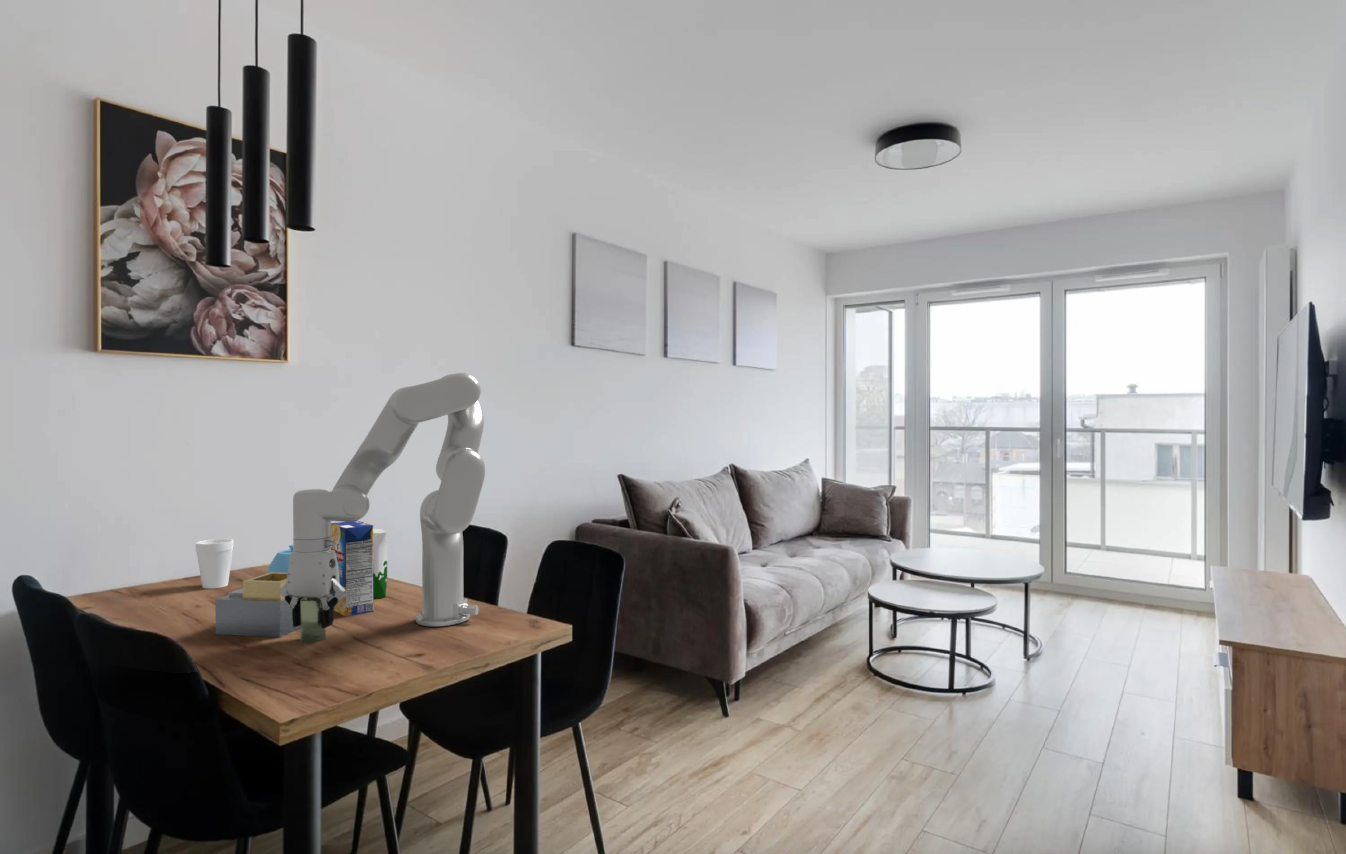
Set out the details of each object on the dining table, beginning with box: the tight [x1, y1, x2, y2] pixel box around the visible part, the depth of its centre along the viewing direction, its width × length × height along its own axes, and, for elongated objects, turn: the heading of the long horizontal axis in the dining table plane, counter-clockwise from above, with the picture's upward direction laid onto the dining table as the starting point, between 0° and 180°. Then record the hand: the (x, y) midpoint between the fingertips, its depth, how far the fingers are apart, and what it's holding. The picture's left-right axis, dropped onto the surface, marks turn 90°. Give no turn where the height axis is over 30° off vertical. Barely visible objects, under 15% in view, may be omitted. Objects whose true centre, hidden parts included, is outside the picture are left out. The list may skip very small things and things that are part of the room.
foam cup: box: [195, 538, 235, 589], centre depth 207 cm, size 10×9×13 cm
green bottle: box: [299, 597, 327, 644], centre depth 158 cm, size 5×5×10 cm
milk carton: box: [373, 528, 388, 600], centre depth 195 cm, size 9×9×20 cm
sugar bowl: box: [266, 544, 293, 574], centre depth 210 cm, size 15×15×12 cm
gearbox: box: [214, 572, 300, 638], centre depth 166 cm, size 16×12×12 cm
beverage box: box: [331, 520, 375, 618], centre depth 182 cm, size 7×11×22 cm, turn 43°
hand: (312, 624), depth 158 cm, fingers open, 6 cm apart
